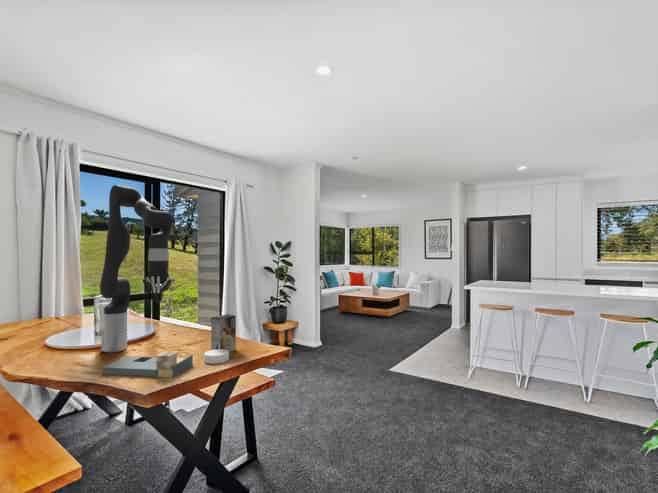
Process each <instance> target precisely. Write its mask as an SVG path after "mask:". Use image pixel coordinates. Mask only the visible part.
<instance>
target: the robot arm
mask: <svg viewBox="0 0 658 493" xmlns="http://www.w3.org/2000/svg"><path fill="white" fill-rule="evenodd" d="M108 196H109V197H108V199H109V200H108V201H109V202H108V204H109V205H108V207H109V210H108V227H107V235H106V244H105V256H104V264H103V268H102V269H103V270H102V274H101V278H100V283H99V284H100V285H99V293H100V295H101V296H102V297H103V298H104V299H107V300H108V299H109V300H111V301H110V302H109V303H108V304H107V305H105V306H104V309H103V329H101V352H104V353H117V352H123V351H125V350H127V349H128V309H129V307H130V302H131V301H130V300H131V299H130V298H131V284H130V281H129V280H128V278H126V277H121V276H120V277H119V271H120V268H121V265H122V263H123V262H124V260H125V259H126V257H127V255H128V253H129V252H130V245H131V234H130V231H129V229H128V228H127V226H126V224H125V222H124V220H123V218H122V217H123V216H122V213H121V207H124V208H125V207H126V208H133V209H134V210H133V211H134V212H135V214H136V215H137V216H138V217H139V218H141V219H142V220H143V223H144V225H145V226H146V227H148V228H151V229H153V228H154V229H160V230H159V231H158V232H157V233H151V235H149V238H148V254H147V259H148V260H147V271H148V274H147V277H146V278H143V279H142V281H141V282H142V283H143V284H144V285H145V287H146V288H147V290H148V291H149V292H152V293H153V300H154V303H162V301H163V295H164V294H163V293H165V292H166V291H168V290H169V288H170V287H171V286H172V285H173V283H174V282H175V279H174V278H171V277H170V274H169V266H170V265H169V260H170V258H169V238H170V233H171V230H172V228H173V224H174V218H173V214H171V212H169V211H165V210H164V211H163V210H162V211H161V210H159V209H158V208H157V207H156V206H154V204H152V203H150V202H149V201H147V200H146V199H145V198H144V196H143V195H142V194H141V193H140V191H138V190H137V189H136V188H134V187H131V186H123V185H119V184H113V185H112V186H111V188H110V190H109V195H108Z"/></svg>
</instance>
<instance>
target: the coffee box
mask: <svg viewBox="0 0 658 493" xmlns="http://www.w3.org/2000/svg"><path fill="white" fill-rule="evenodd" d="M236 317H237V315H234V314H222V315H216V316H211V317H210V318H211V319H210V320H211V321H210V322H211V323H210V326H211V328H210V330H211V331H210V332H211V336H210V339H211V342H210V344H211V345H210V348H211V350H214V349H225V350H227V351H229V353H230V352H234V351H236V349H237V348H236V347H237V346H236V345H237V344H236V343H237V341H236V333H237V332H236V328H237V327H236V326H237V324H236V323H237V322H236V321H237V320H236Z"/></svg>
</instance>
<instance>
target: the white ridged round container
mask: <svg viewBox="0 0 658 493" xmlns="http://www.w3.org/2000/svg"><path fill="white" fill-rule="evenodd" d="M229 359H230V352H229V351H227V350H225V349H214V350H210V349H209V350H207V351H205V352H204V354H203V362H204V363H207V364H211V365H212V364H213V365H214V364H215V365H216V364H217V365H218V364H222V363H226V362H228V361H229Z"/></svg>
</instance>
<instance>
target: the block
mask: <svg viewBox="0 0 658 493" xmlns="http://www.w3.org/2000/svg"><path fill="white" fill-rule="evenodd" d="M156 357H157V366H156V369H163V370H170V369H171V368H172V366H174V365H175V364H177V358H178V354H177V351H162V352H161V353H159V354H157V355H156Z"/></svg>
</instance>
